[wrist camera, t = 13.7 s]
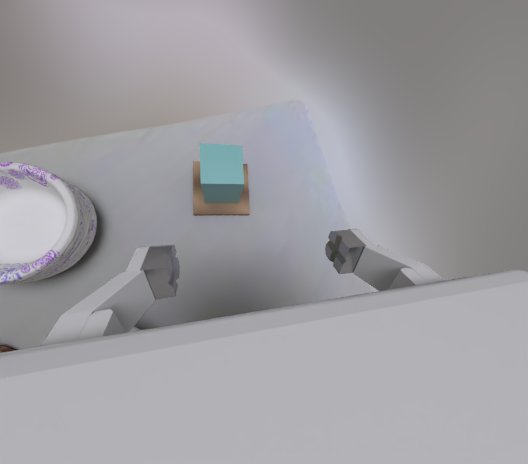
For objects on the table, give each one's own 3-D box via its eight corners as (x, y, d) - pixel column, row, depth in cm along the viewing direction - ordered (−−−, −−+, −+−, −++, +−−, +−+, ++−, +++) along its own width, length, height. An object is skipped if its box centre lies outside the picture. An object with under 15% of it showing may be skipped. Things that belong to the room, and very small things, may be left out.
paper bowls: (91, 173, 34) (53, 146, 26) (121, 257, 33) (91, 254, 25) (-24, 201, 30) (-108, 179, 22) (6, 298, 29) (-72, 310, 21)
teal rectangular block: (238, 203, 37) (244, 184, 29) (205, 203, 36) (200, 183, 27) (237, 172, 38) (242, 145, 30) (204, 171, 37) (199, 143, 28)
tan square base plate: (249, 214, 38) (256, 202, 31) (194, 215, 36) (187, 202, 29) (246, 166, 40) (252, 142, 32) (193, 163, 38) (187, 138, 30)
